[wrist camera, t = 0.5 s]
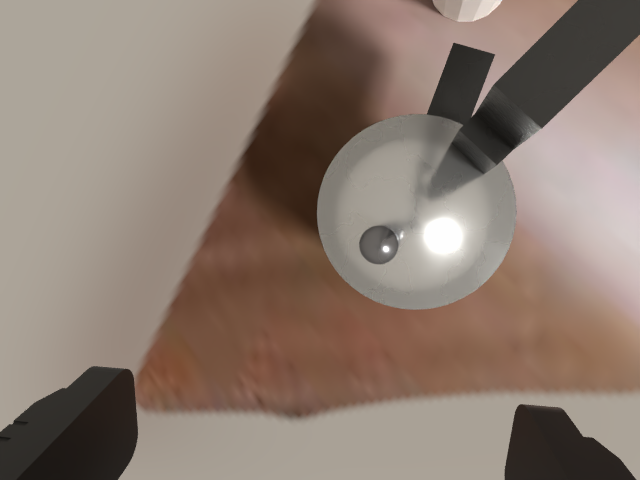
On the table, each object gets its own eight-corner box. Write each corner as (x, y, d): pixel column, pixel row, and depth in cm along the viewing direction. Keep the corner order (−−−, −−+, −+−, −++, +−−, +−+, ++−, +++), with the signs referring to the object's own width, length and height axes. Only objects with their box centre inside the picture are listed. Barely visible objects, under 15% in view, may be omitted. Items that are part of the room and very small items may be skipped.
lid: (489, 1, 24) (533, -113, 16) (639, 134, 23) (767, 81, 15) (283, 213, 26) (234, 204, 18) (411, 345, 25) (417, 395, 17)
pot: (392, 75, 34) (390, 19, 25) (521, 114, 32) (567, 68, 24) (326, 256, 35) (302, 263, 26) (447, 303, 33) (465, 327, 25)
